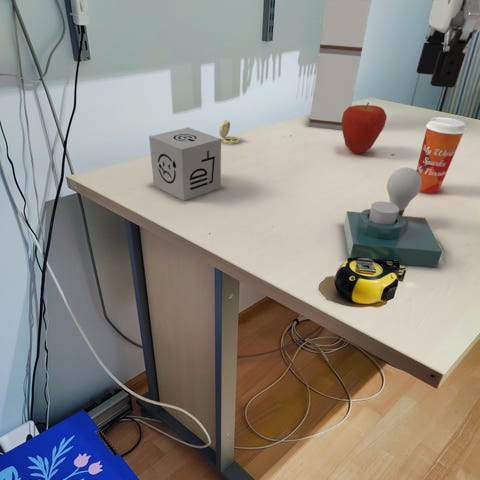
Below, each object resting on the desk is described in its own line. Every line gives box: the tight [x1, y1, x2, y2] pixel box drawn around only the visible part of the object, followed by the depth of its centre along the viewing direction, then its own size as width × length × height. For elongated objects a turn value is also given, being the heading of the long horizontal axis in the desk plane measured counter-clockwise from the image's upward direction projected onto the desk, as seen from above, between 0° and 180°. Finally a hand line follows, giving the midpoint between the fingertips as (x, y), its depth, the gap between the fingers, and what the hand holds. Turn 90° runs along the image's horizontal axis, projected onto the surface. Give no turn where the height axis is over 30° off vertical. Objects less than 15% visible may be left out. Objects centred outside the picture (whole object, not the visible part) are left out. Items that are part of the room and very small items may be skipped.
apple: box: [342, 102, 387, 155], centre depth 108 cm, size 11×11×12 cm
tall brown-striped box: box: [308, 0, 373, 131], centre depth 121 cm, size 11×11×35 cm
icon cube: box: [148, 127, 222, 202], centre depth 86 cm, size 10×10×10 cm
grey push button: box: [369, 200, 399, 225], centre depth 70 cm, size 4×4×2 cm
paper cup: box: [415, 116, 467, 195], centre depth 90 cm, size 8×8×14 cm
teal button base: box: [343, 208, 443, 268], centre depth 72 cm, size 14×12×5 cm
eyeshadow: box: [218, 120, 240, 145], centre depth 113 cm, size 4×5×5 cm
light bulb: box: [386, 166, 422, 216], centre depth 78 cm, size 6×6×10 cm
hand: (433, 79), depth 62 cm, fingers open, 9 cm apart
